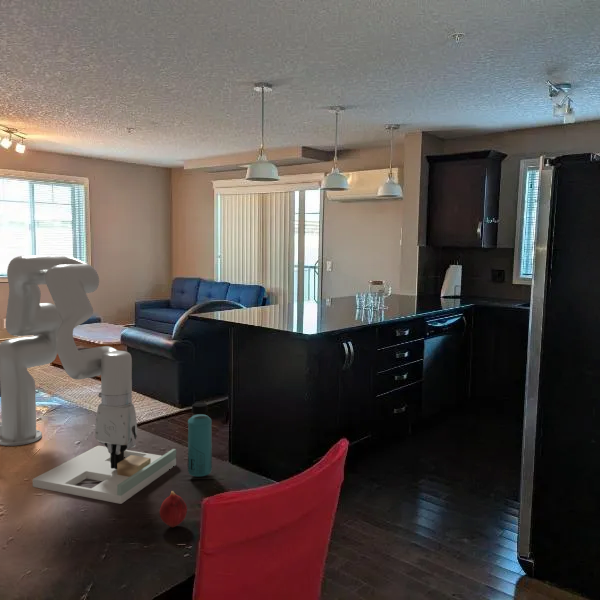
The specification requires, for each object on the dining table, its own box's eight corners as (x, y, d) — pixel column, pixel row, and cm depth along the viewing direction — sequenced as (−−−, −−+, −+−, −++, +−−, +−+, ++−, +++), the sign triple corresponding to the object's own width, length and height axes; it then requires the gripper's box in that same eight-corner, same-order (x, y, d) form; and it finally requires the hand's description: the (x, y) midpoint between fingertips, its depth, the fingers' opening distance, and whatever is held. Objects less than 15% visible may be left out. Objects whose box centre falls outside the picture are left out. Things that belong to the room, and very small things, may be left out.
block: (117, 474, 141) (117, 463, 141) (131, 465, 147) (130, 455, 147) (137, 478, 140) (137, 466, 139) (150, 469, 145) (150, 458, 145)
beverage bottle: (216, 475, 147) (217, 402, 145) (202, 484, 141) (203, 408, 139) (196, 470, 150) (197, 398, 148) (181, 479, 144) (182, 405, 142)
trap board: (32, 486, 138) (32, 469, 137) (98, 452, 161) (97, 437, 161) (121, 503, 130) (121, 485, 129) (176, 464, 154) (176, 449, 153)
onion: (191, 523, 122) (192, 488, 121) (177, 535, 116) (178, 499, 116) (169, 518, 124) (169, 484, 123) (154, 530, 118) (154, 495, 117)
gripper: (83, 399, 141) (83, 468, 143) (132, 406, 137) (133, 476, 139) (101, 392, 148) (102, 457, 150) (149, 398, 144) (149, 465, 146)
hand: (117, 466), depth 144 cm, fingers closed
